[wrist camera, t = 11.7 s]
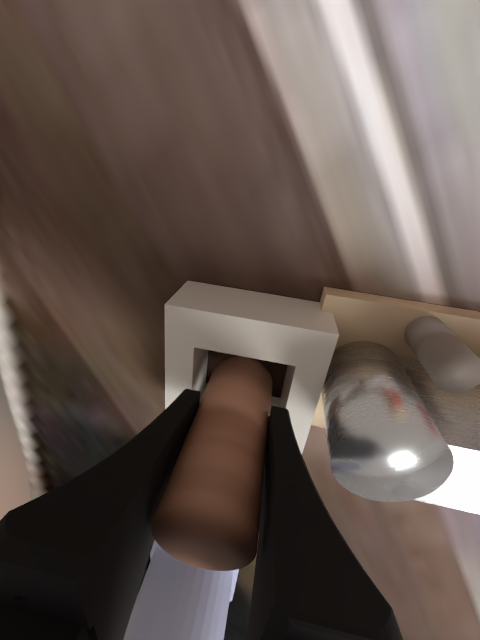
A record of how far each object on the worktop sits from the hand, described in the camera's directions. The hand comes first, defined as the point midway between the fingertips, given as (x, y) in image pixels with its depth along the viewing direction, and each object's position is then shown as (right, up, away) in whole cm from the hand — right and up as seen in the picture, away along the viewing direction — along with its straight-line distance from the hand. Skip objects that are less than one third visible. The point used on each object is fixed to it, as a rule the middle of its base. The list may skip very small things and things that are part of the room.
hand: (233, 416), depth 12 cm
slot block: (+1, +2, +4) cm, 4 cm away
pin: (0, +1, +2) cm, 2 cm away
